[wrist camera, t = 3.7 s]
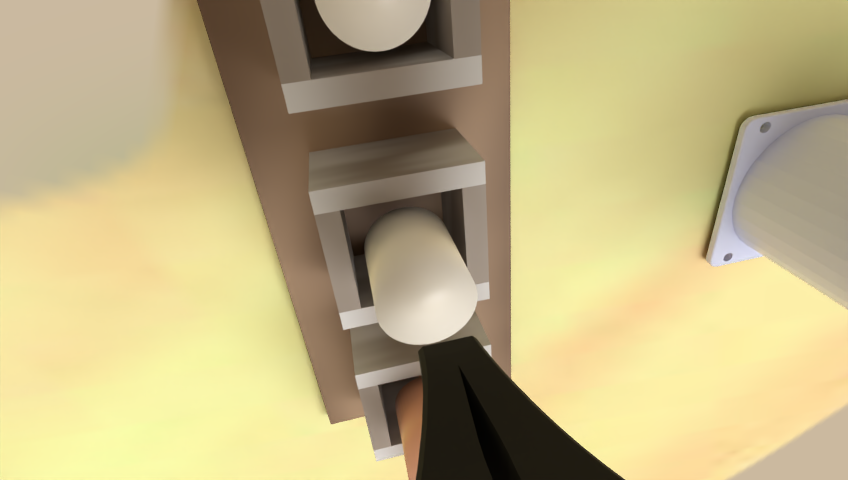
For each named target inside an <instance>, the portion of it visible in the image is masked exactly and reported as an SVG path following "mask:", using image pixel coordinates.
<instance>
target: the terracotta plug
mask: <svg viewBox="0 0 848 480" xmlns="http://www.w3.org/2000/svg"><path fill="white" fill-rule="evenodd" d="M395 409H396V414H397V419H398V425H399V430H400V435H401V440H402V446H403V451H404V456H405V462H406V467H407V472H408V477H409V480H416V474H417V467H418V458H419V449H420V440H421V430H422V409H423V383H422V376H421V377H418V378H416V379H414V380H412V381H410V382H409V383H407V384H406V385H405V386H404V387H403V388H402V389H401V390H400V391H399V393H398V394H397V396H396V399H395Z"/></svg>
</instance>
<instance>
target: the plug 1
mask: <svg viewBox="0 0 848 480" xmlns="http://www.w3.org/2000/svg"><path fill="white" fill-rule="evenodd" d="M430 2H431V0H315V4H316V6H317V9H318V11H319V14H320V15H321V17H322V19H323V21H324V22H325V24H326V25H327V27H328V28H329V29H330V30H331V31H332V32H333V34H335V35H336V36H337V37H338V38H339V39H340V40H342V41H343V42H345V43H346V44H348V45H350V46H352V47H354V48H357V49H360V50H364V51H373V52H377V51H385V50H390V49H392V48H395V47H397V46H399V45H401V44H403V43H404V42H406V41H407V40H409V39H410V38H411V37H412V36H413V35H414V34H415V33H416V31H417V30H418V29H419V28H420V26H421V25H422V23H423V21H424V19H425V17H426V15H427V12H428V9H429V6H430Z"/></svg>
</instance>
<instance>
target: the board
mask: <svg viewBox="0 0 848 480" xmlns="http://www.w3.org/2000/svg"><path fill="white" fill-rule="evenodd" d="M197 2H198V5H199V8H200V11H201V14H202V18H203V21H204V24H205V27H206V30H207V33H208V37H209V40H210V43H211V46H212V49H213V52H214V56H215V59H216V62H217V65H218V68H219V71H220V75H221V78H222V81H223V84H224V87H225V90H226V94H227V97H228V100H229V103H230V106H231V109H232V113H233V116H234V119H235V122H236V125H237V128H238V132H239V135H240V138H241V141H242V144H243V147H244V151H245V154H246V157H247V160H248V163H249V166H250V170H251V173H252V176H253V179H254V182H255V185H256V189H257V192H258V195H259V198H260V201H261V204H262V208H263V211H264V214H265V217H266V220H267V223H268V227H269V230H270V233H271V236H272V239H273V242H274V246H275V249H276V252H277V255H278V258H279V261H280V265H281V268H282V271H283V274H284V277H285V280H286V284H287V287H288V290H289V293H290V296H291V299H292V303H293V306H294V309H295V312H296V315H297V318H298V322H299V325H300V328H301V331H302V334H303V337H304V341H305V344H306V347H307V350H308V353H309V356H310V360H311V363H312V366H313V369H314V372H315V375H316V379H317V382H318V385H319V388H320V391H321V394H322V398H323V401H324V404H325V407H326V410H327V413H328V417H329V420H330V423H331V424H334V423H339V422H343V421H347V420H351V419H355V418H359V417H364V416H365V418H366V422H367V426H368V430H369V433H370V437H371V441H372V445H373V449H374V453H375V457H376V461H380V460H384V459H388V458H392V457H396V456H400V455H404V451H403V446H402V440H401V435H400V430H399V425H398V419H397V414H396V409H395V399H396V396H397V394H398V393H399V391H400V390H401V389H402V388H403V387H404V386H405V385H406V384H407V383H409V382H410V381H412V380H414V379H416V378H418V377H421V369H420V362H419V355H418V351H419V350H420V349H421V347H423V346H428V345H432V344H437V343H441V342H445V341H450V340H454V339H459V338H463V337H468V336H474V337H475V338H477V339H478V341H479V342H480V343H481V345H482V346H483V347H484V349H485V350H486V351H487V352H488V353H489V355H490V356H491V357H492V358H493V359H494V361H495V362H496V363H497V364H498V365H499V366H500V368H501V369H502V370H503V371H504V372H505V373H506V374H507V375H508V376H509V378H510V379H511V236H510V0H431V2H430V6H429V9H428V12H427V15H426V17H425V19H424V21H423V23H422V25H421V26H420V28H419V29H418V30H417V31H416V33H415V34H414V35H413V36H412V37H411V38H410V39H409V40H407V41H406V42H404V43H403V44H401V45H399V46H397V47H395V48H392V49H390V50H385V51H377V52H373V51H364V50H360V49H357V48H354V47H352V46H350V45H348V44H346V43H345V42H343V41H342V40H340V39H339V38H338V37H337V36H336V35H335V34H333V32H332V31H331V30H330V29H329V28H328V27H327V25H326V24H325V22H324V21H323V19H322V17H321V15H320V14H319V11H318V9H317V6H316V4H315V0H197ZM402 207H419V208H423V209H426V210H429V211H431V212H433V213H434V214H436V215H437V216H438V217H439V218H440V219H441V220H442V221H443V223H444V224H445V226H446V228H447V230H448V232H449V234H450V236H451V238H452V240H453V242H454V244H455V245H456V247H457V249H458V251H459V253H460V255H461V257H462V259H463V261H464V263H465V265H466V267H467V269H468V271H469V273H470V275H471V277H472V278H473V280H474V282H475V285H476V288H477V293H478V299H477V305H476V308H475V311H474V313H473V315H472V317H471V318H470V320H469V321H468V322H467V323H466V324H465V326H463V327H462V328H461V329H460V330H459V331H458V332H456V333H455V334H453V335H452V336H450V337H448V338H446V339H444V340H441V341H439V342H435V343H431V344H423V345H413V344H407V343H403V342H400V341H397V340H395V339H393V338H392V337H390V336H389V335H387V334H386V333H385V332H384V331H383V329H382V328H381V327H380V325H379V323H378V320H377V317H376V312H375V307H374V301H373V296H372V290H371V285H370V279H369V274H368V269H367V263H366V258H365V251H364V243H365V239H366V236H367V233H368V231H369V229H370V228H371V226H372V225H373V224H374V223H375V222H376V221H377V220H378V219H379V218H380V217H381V216H383V215H384V214H386V213H388V212H390V211H392V210H395V209H398V208H402Z"/></svg>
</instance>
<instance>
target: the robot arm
mask: <svg viewBox="0 0 848 480" xmlns="http://www.w3.org/2000/svg"><path fill="white" fill-rule="evenodd" d="M762 125H763V126H762ZM761 126H762V128H761ZM760 128H761V129H760ZM762 256H765V257H766V258H768V259H769V260H771V261H772V262H774V263H776V264H777V265H779V266H780V267H782V268H783V269H785V270H787V271H788V272H790V273H791V274H793V275H794V276H796V277H798V278H799V279H801V280H802V281H804V282H805V283H807V284H808V285H810V286H812V287H813V288H815V289H816V290H818V291H819V292H821V293H823V294H824V295H826V296H827V297H829V298H830V299H832V300H834V301H835V302H837V303H838V304H840V305H841V306H843V307H844V308H846V309H848V99H846V100H840V101H835V102H829V103H823V104H818V105H812V106H806V107H801V108H795V109H789V110H784V111H778V112H772V113H767V114H761V115H755V116H751V117H749V118H747V119H746V120H745V121H744V122H743V123H742V124H741V126H740V129H739V133H738V137H737V141H736V145H735V148H734V152H733V156H732V160H731V164H730V168H729V171H728V175H727V179H726V183H725V187H724V191H723V194H722V198H721V202H720V206H719V210H718V214H717V218H716V221H715V225H714V229H713V233H712V237H711V241H710V244H709V248H708V252H707V256H706V261H707V263H709V264H710V265H711V266H721V265H725V264H730V263H734V262H739V261H744V260H748V259H753V258H757V257H762ZM418 355H419V362H420V369H421V376H422V383H423V409H422V430H421V440H420V449H419V458H418V467H417V474H416V480H625V479H623V478H622V477H621V476H619V475H618V474H617V473H615V472H614V471H613V470H611V469H610V468H609V467H607V466H606V465H605V464H603V463H602V462H601V461H600V460H598V459H597V458H596V457H595V456H593V455H592V454H591V453H590V452H588V451H587V450H586V449H585V448H583V447H582V446H581V445H580V444H579V443H578V442H576V441H575V440H574V439H573V438H572V437H571V436H569V435H568V434H567V433H566V432H565V431H564V430H563V429H561V428H560V427H559V426H558V425H557V424H556V423H555V422H554V421H553V420H552V419H550V418H549V417H548V416H547V415H546V414H545V413H544V412H543V411H542V410H541V409H540V408H539V407H538V406H537V405H536V404H535V403H534V402H533V401H532V400H531V399H530V398H529V397H528V396H527V395H526V394H525V393H524V392H523V391H522V390H521V389H520V388H519V387H518V386H517V385H516V384H515V383H514V382H513V381H512V380H511V379H510V378H509V376H508V375H507V374H506V373H505V372H504V371H503V370H502V369H501V368H500V366H499V365H498V364H497V363H496V362H495V361H494V359H493V358H492V357H491V356H490V355H489V353H488V352H487V351H486V350H485V349H484V347H483V346H482V345H481V343H480V342H479V341H478V339H477V338H475V337H474V336H468V337H463V338H459V339H454V340H450V341H445V342H441V343H437V344H432V345H428V346H423V347H421V349H420V350H419V351H418Z"/></svg>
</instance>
